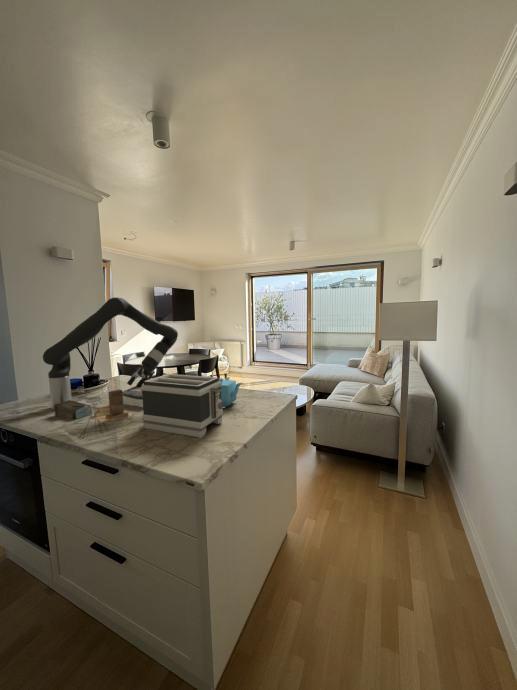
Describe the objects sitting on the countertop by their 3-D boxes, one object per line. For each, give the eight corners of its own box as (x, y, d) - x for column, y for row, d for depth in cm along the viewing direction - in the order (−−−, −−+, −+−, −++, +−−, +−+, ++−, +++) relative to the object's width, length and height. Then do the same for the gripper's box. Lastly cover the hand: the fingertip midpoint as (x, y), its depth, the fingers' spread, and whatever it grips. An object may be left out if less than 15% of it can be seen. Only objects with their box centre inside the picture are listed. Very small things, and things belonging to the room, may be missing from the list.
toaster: (210, 440, 110) (208, 387, 108) (142, 428, 122) (139, 381, 120) (231, 423, 127) (230, 377, 125) (169, 414, 139) (167, 373, 137)
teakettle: (199, 403, 157) (198, 377, 156) (230, 398, 166) (229, 373, 165) (210, 413, 141) (209, 384, 139) (244, 406, 150) (243, 379, 148)
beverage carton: (76, 422, 131) (74, 409, 131) (54, 416, 140) (52, 403, 140) (92, 417, 138) (91, 404, 138) (71, 411, 147) (69, 399, 147)
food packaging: (174, 387, 164) (144, 398, 143) (175, 400, 165) (145, 412, 144) (142, 384, 174) (110, 393, 154) (143, 395, 175) (111, 406, 154)
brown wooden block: (110, 418, 132) (108, 391, 130) (120, 415, 136) (119, 389, 134) (113, 420, 130) (111, 392, 128) (124, 416, 134) (122, 390, 132)
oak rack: (91, 418, 135) (90, 408, 135) (118, 411, 145) (117, 401, 145) (106, 426, 126) (105, 415, 125) (134, 417, 136) (133, 407, 135)
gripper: (140, 354, 148) (120, 379, 140) (156, 356, 140) (135, 383, 132) (149, 362, 153) (131, 387, 145) (165, 365, 144) (146, 392, 136)
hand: (133, 385), depth 138 cm, fingers open, 8 cm apart
